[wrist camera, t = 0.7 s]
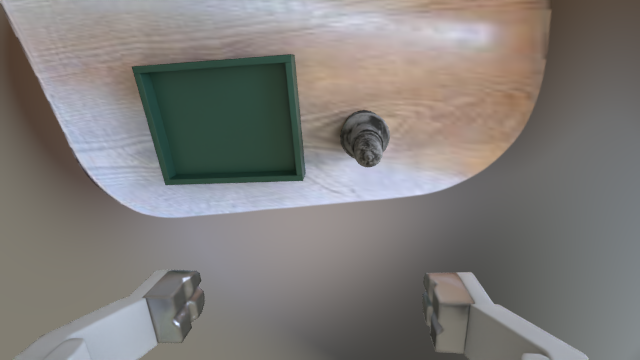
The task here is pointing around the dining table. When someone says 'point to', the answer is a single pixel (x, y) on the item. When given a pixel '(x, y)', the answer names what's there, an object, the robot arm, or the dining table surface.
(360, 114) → the dark grey chess piece
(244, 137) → the tray
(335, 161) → the dining table surface
